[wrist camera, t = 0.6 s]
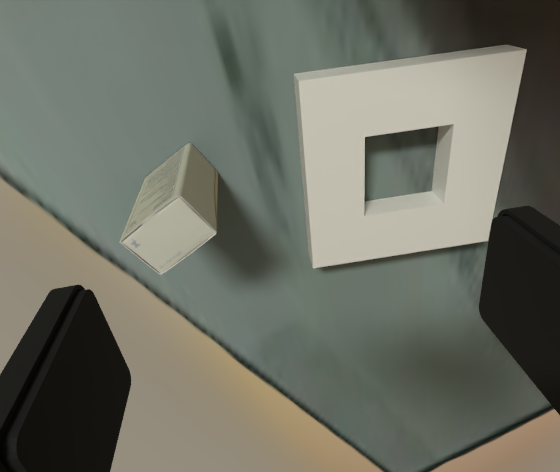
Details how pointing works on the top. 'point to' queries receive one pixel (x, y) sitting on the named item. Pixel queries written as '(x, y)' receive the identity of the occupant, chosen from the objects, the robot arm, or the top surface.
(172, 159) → the skincare box
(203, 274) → the top surface
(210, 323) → the top surface
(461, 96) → the box stand
